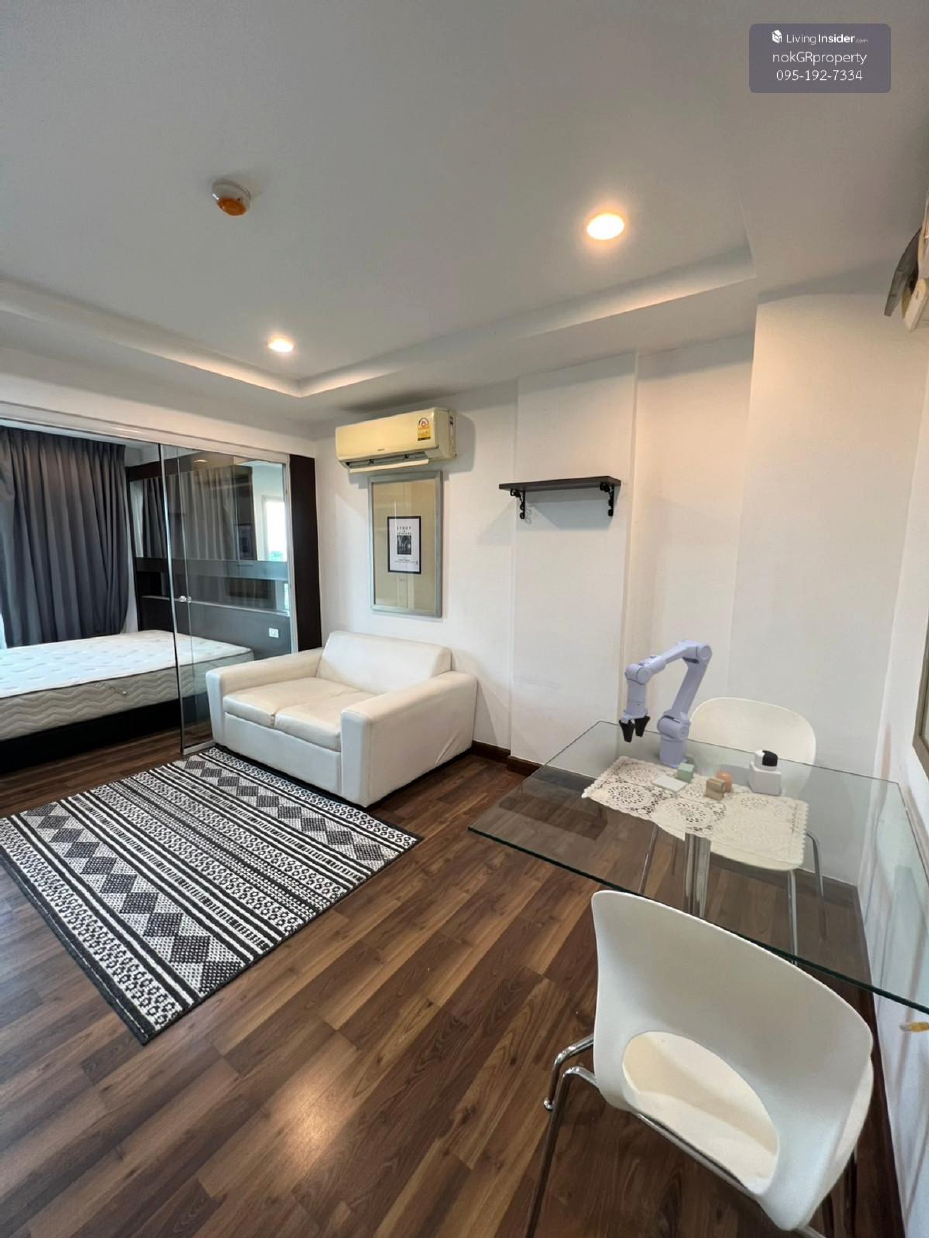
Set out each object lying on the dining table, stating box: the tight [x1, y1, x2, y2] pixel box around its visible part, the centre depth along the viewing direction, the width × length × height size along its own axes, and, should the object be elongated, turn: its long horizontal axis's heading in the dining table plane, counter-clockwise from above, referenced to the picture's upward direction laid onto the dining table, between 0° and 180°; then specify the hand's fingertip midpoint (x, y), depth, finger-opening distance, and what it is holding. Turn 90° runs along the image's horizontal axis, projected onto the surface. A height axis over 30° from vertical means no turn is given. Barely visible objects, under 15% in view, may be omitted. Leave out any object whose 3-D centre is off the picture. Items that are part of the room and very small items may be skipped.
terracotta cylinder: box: [715, 770, 734, 793], centre depth 150 cm, size 4×4×5 cm
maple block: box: [704, 776, 726, 802], centre depth 146 cm, size 4×4×5 cm
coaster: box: [651, 774, 689, 794], centre depth 153 cm, size 8×8×1 cm
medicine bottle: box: [747, 749, 782, 797], centre depth 150 cm, size 7×7×12 cm
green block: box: [676, 762, 695, 784], centre depth 157 cm, size 4×4×6 cm
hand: (633, 738), depth 163 cm, fingers open, 7 cm apart
